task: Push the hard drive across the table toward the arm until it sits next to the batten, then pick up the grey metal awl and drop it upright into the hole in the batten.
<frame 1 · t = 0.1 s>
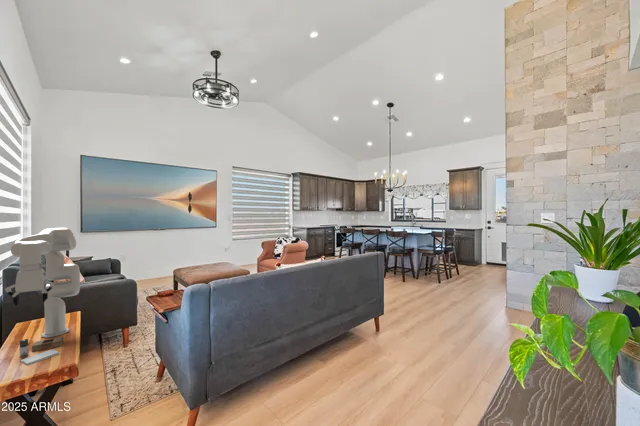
hand: (31, 302, 139), 31 cm above the table, tool pointing down, fingers open, 9 cm apart
hard drive: (40, 359, 148), on the table
awl: (24, 355, 150), on the table
batten: (48, 346, 160), on the table
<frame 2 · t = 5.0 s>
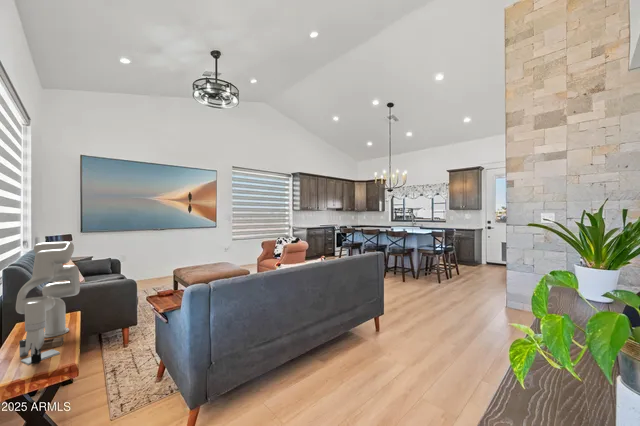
hand: (36, 362, 142), 0 cm above the table, tool pointing down, fingers closed
hard drive: (40, 359, 148), on the table, touching gripper
everything else where it was.
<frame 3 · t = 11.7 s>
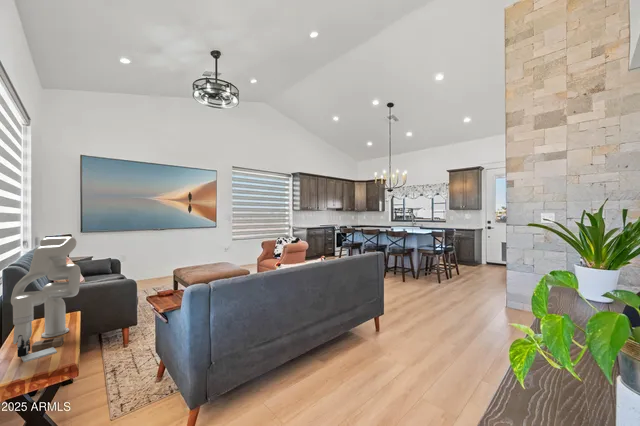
hand: (23, 353, 150), 1 cm above the table, tool pointing down, fingers open, 4 cm apart
hard drive: (39, 356, 150), on the table, touching gripper
everything else where it was.
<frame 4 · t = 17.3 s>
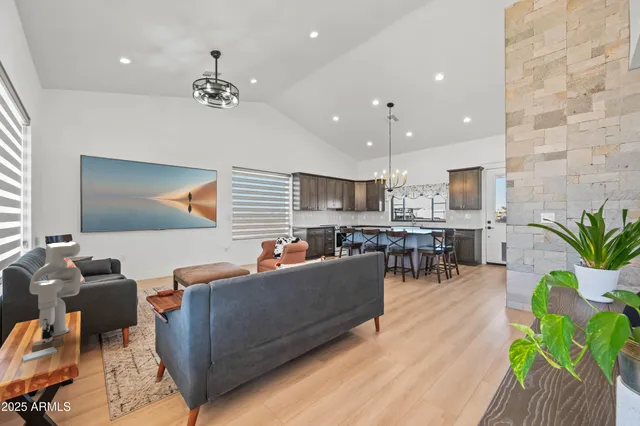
hand: (48, 335, 160), 6 cm above the table, tool pointing down, fingers open, 7 cm apart
hard drive: (39, 356, 150), on the table
awl: (48, 346, 161), resting in batten
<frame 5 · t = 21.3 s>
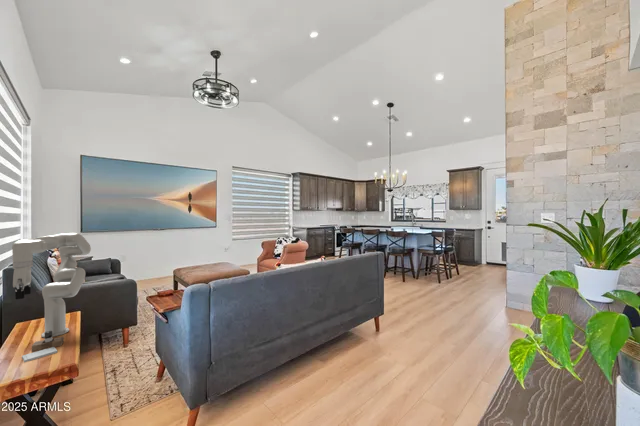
hand: (23, 296, 153), 30 cm above the table, tool pointing down, fingers open, 9 cm apart
nothing on the table moved.
at the end: hard drive inside the target area (2.3 cm from its centre), on the table; awl 0.2 cm off-centre on the batten, point 0.0 cm above the batten's base; awl tilted 0° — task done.
